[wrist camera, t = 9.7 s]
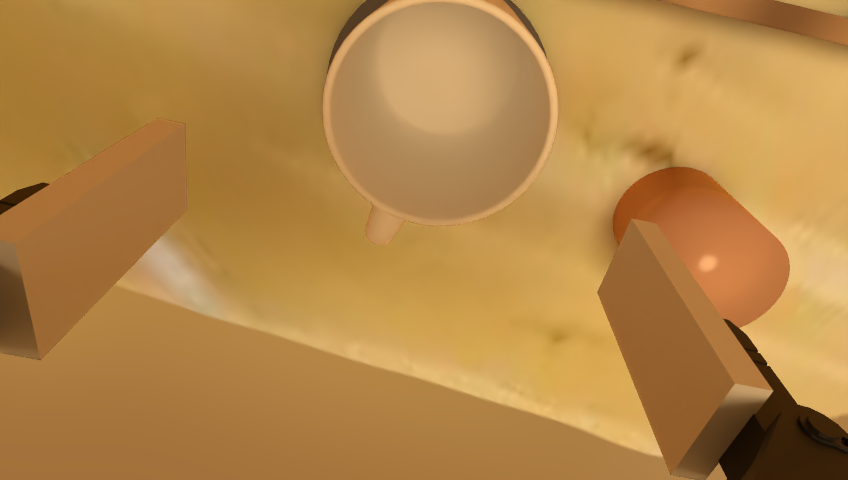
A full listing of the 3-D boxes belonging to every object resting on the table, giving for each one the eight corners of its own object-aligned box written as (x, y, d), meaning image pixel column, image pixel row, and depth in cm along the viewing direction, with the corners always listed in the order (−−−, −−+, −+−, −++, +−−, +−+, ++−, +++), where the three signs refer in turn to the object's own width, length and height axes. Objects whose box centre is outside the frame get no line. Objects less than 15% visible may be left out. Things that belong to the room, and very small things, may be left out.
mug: (450, 217, 32) (444, 324, 23) (321, 159, 30) (262, 248, 21) (558, 24, 26) (608, 66, 17) (407, -57, 25) (375, -59, 16)
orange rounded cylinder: (597, 251, 33) (627, 320, 27) (638, 156, 30) (683, 210, 24) (694, 272, 33) (746, 345, 27) (746, 180, 30) (817, 240, 24)
